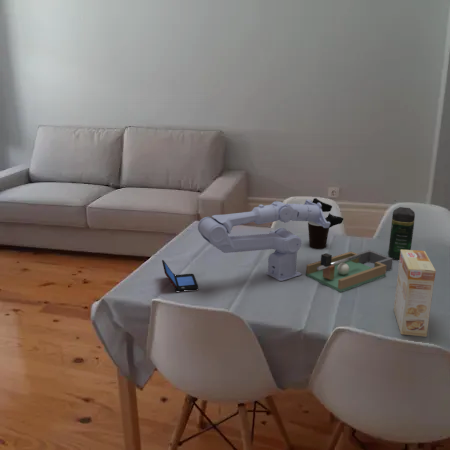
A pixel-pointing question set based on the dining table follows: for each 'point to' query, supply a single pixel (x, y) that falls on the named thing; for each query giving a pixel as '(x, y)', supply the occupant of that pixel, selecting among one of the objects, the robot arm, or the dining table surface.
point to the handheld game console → (181, 279)
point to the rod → (332, 264)
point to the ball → (343, 268)
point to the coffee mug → (317, 235)
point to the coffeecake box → (414, 292)
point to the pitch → (352, 270)
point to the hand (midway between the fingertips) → (336, 214)
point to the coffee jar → (401, 231)
